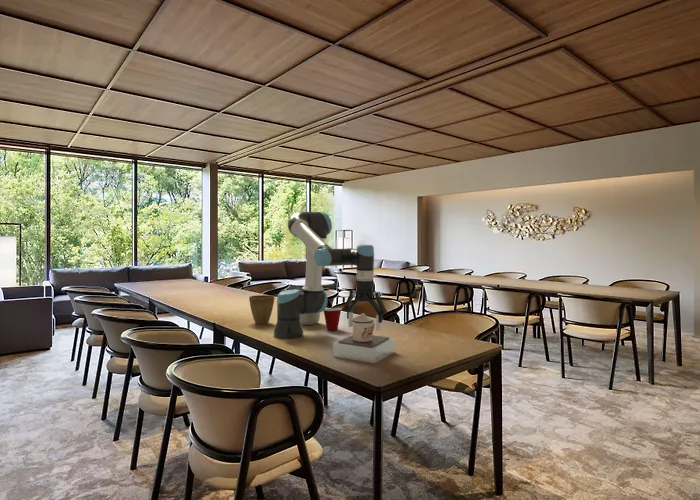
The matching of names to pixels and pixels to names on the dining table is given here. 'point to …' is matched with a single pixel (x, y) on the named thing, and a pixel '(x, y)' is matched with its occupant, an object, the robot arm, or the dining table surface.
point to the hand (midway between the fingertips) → (364, 328)
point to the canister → (309, 318)
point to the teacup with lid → (363, 328)
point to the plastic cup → (332, 318)
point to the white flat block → (364, 349)
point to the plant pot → (261, 308)
